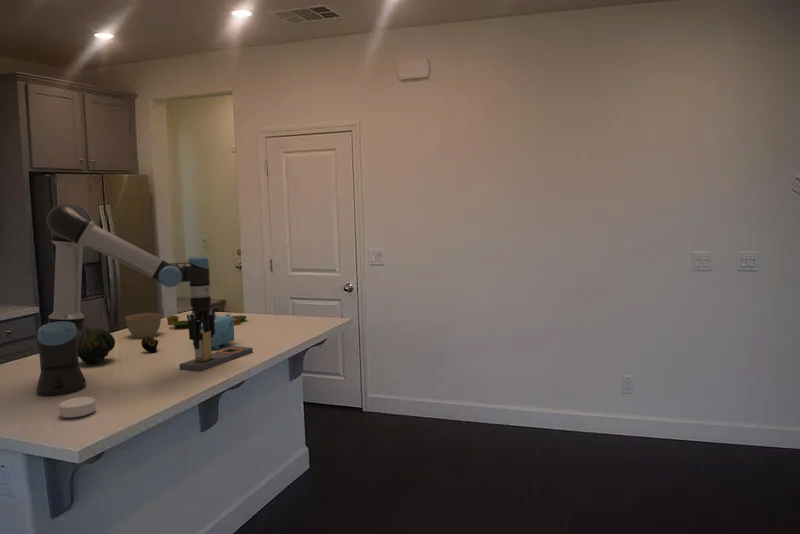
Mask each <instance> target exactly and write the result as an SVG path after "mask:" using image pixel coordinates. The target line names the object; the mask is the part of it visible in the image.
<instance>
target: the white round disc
mask: <svg viewBox="0 0 800 534" xmlns="http://www.w3.org/2000/svg"><path fill="white" fill-rule="evenodd" d="M96 409H97V407H96V399H95V398H93V397H89V396H88V397H87V396H81V397H74V398H70V399H66V400H64V401H61V402H60V403H59V404H58V411H59V412H58V413H59V414H58V415H59V416H60V417H62V418H66V419H67V418H68V419H69V418H70V419H71V418H72V419H73V418H80V417H85V416H87V415H90V414H92V413H94V412H95V411H96Z"/></svg>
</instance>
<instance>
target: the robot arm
mask: <svg viewBox="0 0 800 534" xmlns="http://www.w3.org/2000/svg"><path fill="white" fill-rule="evenodd" d="M46 224H47V226H48V229H49V230H50V232H51V240H50V241H51V243H52V244H53V245H54V246H55V266H54V270H55V271H54V291H53V311H52V313H50V314H49V315H48V320H47V321H48V322H47V323H46V324H43V325H41V326H40V327H39V328H38V330H37V336H36V337H37V341H38V343H37V344H38V354H39V365H40V374H39V377H38V381H37V386H36V388H35V389H36V390H35V391H36V395H38V396H39V397H59V396H67V395H70V394H71V395H72V394H74V393H77V392H81V391H83V390H85V389H86V388H87V381H86V379H85V377H84V375H83V372H82V369H81V368H80V362H79V361H80V358H79V356H78V348H79V347H80V346H81V345H82V344H83V342H84V340H85V337H86V331H85V327H86V326H85V315H84V314H83V313H82V312H81V300H82V274H83V273H82V272H83V249H84V247H85V246H87V247H89V248H91V249H92V250H95V251H97V252H98V253H101V254H102V255H105V256H107V257H109V258H111V259H113V260H114V261H117V262H119V263H121V264H123V265H125V266H127V267H129V268H131V269H133V270H135V271H137V272H139V273H141V274H143V275H146V276H147V277H149V278H151V279H153V280H155V282H156V283H157V284H161V285H162V286H164V287H165V288H174V287H176V286H178V285H180V283H189V296H190V299H189V300H190V307H191V308H192V310H191V313H190V314H187V315H186V319H187V320H188V325H189V327H188V328H189V329H188V335H189V337H188V338H189V340H190V341H193V340H194V346H193V348H194V358H195V357H202V342H201V340H200V332H201V323H203V328H204V331H211V337H213V336H214V334H215V320H214V315H215V314H216V310H215V309H211V308H210V307H211V305H212V301H211V300H212V298H211V296H210V295H211V284H210V283H211V282H210V281H211V279H210V278H211V277H210V264H209V263H210V262H209V261H210V260H209V258H208V257H207V256H190V257H188V258H187V259H188V260H187V262H171V263H169V262H167V261H166V260H163V259H161V258H159V257H158V256H156V255H154V254H152V253H150V252H148V251H146V250H145V249H142V248H140V247H138V246H136V245H134V244H132V243H131V242H129V241H127V240H125V239H123V238H121V237H119V236H117V235H115V234H113V233H112V232H109V231H108V230H106V229H103V228H101V227H100V226H99V225H96V224H95V220H93V219H91V217H90V215H89V213H88V212H87V211H86V210H85V209H84V208H82V207H81V206H79V205H76V204H63V203H62V204H59V205H56V206H54V207H53V208H52V209H50V211H49V212H48V214H47V216H46ZM197 320H198V321H197Z"/></svg>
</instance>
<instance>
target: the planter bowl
mask: <svg viewBox="0 0 800 534" xmlns="http://www.w3.org/2000/svg"><path fill="white" fill-rule="evenodd" d="M161 318H162V314H161V313H157V312H145V313H137V314H130V315H128V316H125V318H124V320H125V324H126V327H127V329H128V332H130V334H131V335H132V336H133V338H134V339H142V340H143V339H144V338H145V337H148V336H149V337H152V338H154V337H155V336H156V334H157V332H158V331H159V329H160V327H161V321H162V320H161Z"/></svg>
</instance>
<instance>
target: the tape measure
mask: <svg viewBox="0 0 800 534" xmlns="http://www.w3.org/2000/svg"><path fill="white" fill-rule="evenodd" d="M140 343H141V347H142V348H143V349H144V350H145V351H146V352H149V353H151V354H155V353H156V352H157V349H158V344H159V340H158V339H155V338H154V337H149V336H148V337H145V338H142V340H141V341H140Z"/></svg>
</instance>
